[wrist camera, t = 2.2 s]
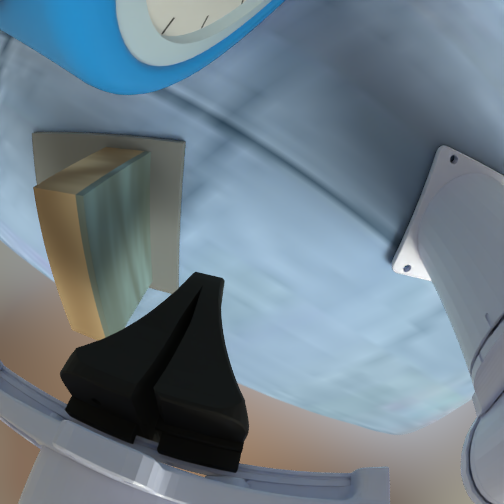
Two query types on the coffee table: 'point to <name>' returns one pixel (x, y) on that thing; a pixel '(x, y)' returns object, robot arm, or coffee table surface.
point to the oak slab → (99, 237)
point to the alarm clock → (132, 36)
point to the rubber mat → (161, 186)
